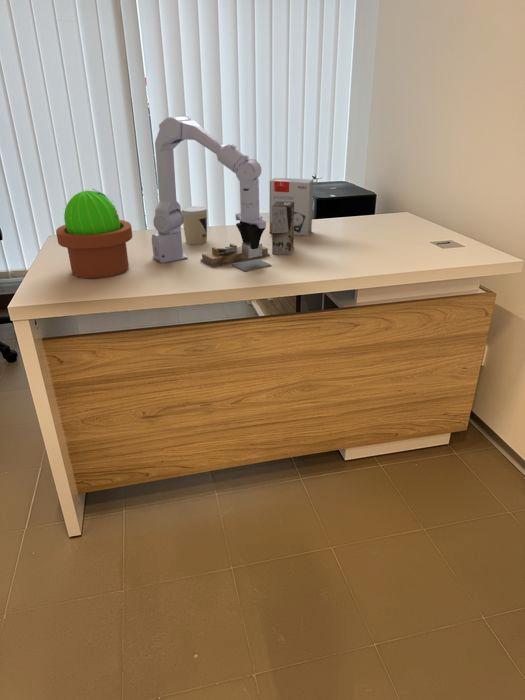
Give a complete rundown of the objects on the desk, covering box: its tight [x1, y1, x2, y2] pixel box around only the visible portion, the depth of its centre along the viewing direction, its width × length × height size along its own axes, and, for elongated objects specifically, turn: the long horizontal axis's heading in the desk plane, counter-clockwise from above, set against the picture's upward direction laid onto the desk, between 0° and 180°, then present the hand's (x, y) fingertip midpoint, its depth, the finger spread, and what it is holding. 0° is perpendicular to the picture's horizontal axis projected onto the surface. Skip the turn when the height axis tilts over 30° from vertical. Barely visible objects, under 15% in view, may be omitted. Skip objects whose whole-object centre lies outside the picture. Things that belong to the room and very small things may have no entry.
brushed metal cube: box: [241, 242, 263, 258], centre depth 163 cm, size 5×4×4 cm
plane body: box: [200, 243, 270, 268], centre depth 172 cm, size 22×8×5 cm, turn 123°
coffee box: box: [271, 201, 295, 256], centre depth 177 cm, size 9×6×16 cm
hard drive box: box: [269, 177, 314, 237], centre depth 198 cm, size 16×8×20 cm, turn 73°
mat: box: [231, 258, 272, 273], centre depth 166 cm, size 10×8×1 cm
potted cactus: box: [55, 188, 133, 279], centre depth 158 cm, size 22×22×25 cm
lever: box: [218, 245, 237, 253], centre depth 168 cm, size 5×2×5 cm
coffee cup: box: [181, 205, 208, 245], centre depth 190 cm, size 9×9×12 cm
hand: (251, 247), depth 163 cm, fingers closed on brushed metal cube, 4 cm apart
